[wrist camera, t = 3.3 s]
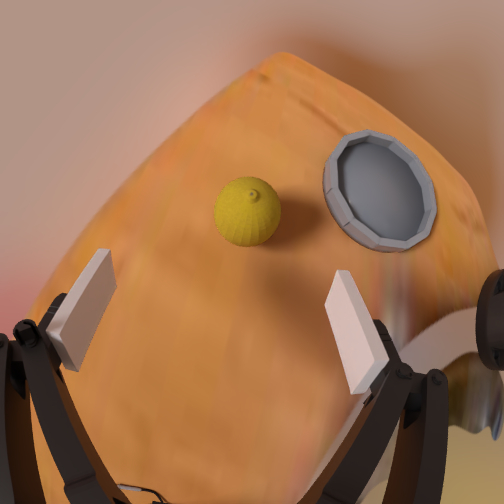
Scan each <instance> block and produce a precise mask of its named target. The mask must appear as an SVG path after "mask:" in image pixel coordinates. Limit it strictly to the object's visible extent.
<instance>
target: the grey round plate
mask: <svg viewBox="0 0 504 504" xmlns="http://www.w3.org/2000/svg"><path fill="white" fill-rule="evenodd" d="M416 156H417V155H415V154H414V153H413V152H412V151H411V150H409V149H408V148H407V147H406V146H405V145H403V144H402V143H401V142H400V141H398V140H397V139H396V138H395V137H392V136H389V135H386V134H382V133H379V132H375V131H372V130H363V131H359V132H355V133H352V134H348V135H344V136H343V138H342V139H341V141H340V142H339V144H338V145H337V147H336V148H335V149H334V151H333V152H332V154H331V155H330V157H329V158H328V160H327V161H326V163H325V168H324V172H323V192H324V196H325V200H326V203H327V206H328V208H329V210H330V212H331V214H332V216H333V218H334V219H335V221H336V222H337V224H338V225H339V226H340V228H341V229H342V230H343V231H344V232H345V233H346V234H347V235H348V236H349V237H350V238H352V239H353V240H354V241H355V242H357V243H358V244H360V245H362V246H364V247H366V248H368V249H371V250H374V251H378V252H387V253H389V252H401V251H404V250H406V249H409V248H410V247H412V246H413V245H415V244H416V243H418V242H420V241H421V240H423V239H424V238H426V237H427V236H428V235H429V233H430V230H431V227H432V224H433V222H434V219H435V215H436V212H437V207H436V200H435V194H434V188H433V183H431V182H432V180H431V179H430V177H429V175H428V173H427V172H426V170H425V168H424V167H423V165H422V163H421V162H420V160H419V158H418V157H416Z"/></svg>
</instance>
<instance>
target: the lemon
mask: <svg viewBox="0 0 504 504" xmlns="http://www.w3.org/2000/svg"><path fill="white" fill-rule="evenodd" d="M280 216H281V206H280V200H279V198H278V195H277V193H276V192H275V190H274V189H273V188H272V186H270V185H269V184H268V183H267V182H265V181H263V180H261V179H259V178H255V177H242V178H238V179H236V180H234V181H232V182H230V183H229V184H228V185H226V186H225V187H224V188H223V189H222V191H221V192H220V194H219V195H218V197H217V200H216V203H215V207H214V219H215V223H216V226H217V228H218V230H219V232H220V234H221V235H222V236H223V237H224V238H225V239H226V240H227V241H229V242H230V243H232V244H235V245H237V246H242V247H251V246H256V245H259V244H261V243H263V242H265V241H266V240H267V239H269V238H270V237H271V236H272V234H273V233H274V232H275V230H276V229H277V226H278V224H279V221H280Z"/></svg>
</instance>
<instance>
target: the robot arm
mask: <svg viewBox="0 0 504 504" xmlns="http://www.w3.org/2000/svg"><path fill="white" fill-rule="evenodd" d="M116 287H117V285H116V280H115V275H114V269H113V264H112V258H111V251H110V249H101V248H99V249H98V250H97V252H96V253H95V254H94V256H93V257H92V259H91V260H90V261H89V263H88V264H87V266H86V267H85V269H84V270H83V272H82V273H81V274H80V276H79V277H78V279H77V280H76V282H75V283H74V285H73V287H72V288H71V290H70V291H69V293H68V294H66V293H61V294H60V295H59V296H57V297H56V298H55V299H54V301H53V302H52V304H51V305H50V307H49V308H48V310H47V312H46V313H45V315H44V316H43V318H42V320H41V321H40V323H39V325H38V326H36V324H35V322H34V321H33V320H30V319H25V320H22V321H20V322H18V323H17V325H15V328H14V329H13V335H14V337H15V338H16V340H13V341H9V339H8V337H7V336H6V335H5V334H2V333H0V504H46V501H45V497H44V493H43V489H42V485H41V480H40V476H39V471H38V466H37V460H36V454H35V448H34V440H33V432H32V422H31V410H30V393H31V397H32V401H33V404H34V407H35V411H36V414H37V417H38V420H39V423H40V426H41V428H42V431H43V434H44V437H45V439H46V442H47V444H48V447H49V449H50V452H51V454H52V457H53V459H54V461H55V463H56V466H57V468H58V470H59V472H60V474H61V476H62V478H63V480H64V483H65V486H64V492H65V494H66V496H67V498H68V500H69V502H70V503H71V504H131V502H130V501H129V500H128V498H127V497H126V496H125V494H124V493H123V492H122V491H121V490H120V489H119V488H118V486H117V485H116V483H115V482H114V480H113V479H112V477H111V476H110V474H109V472H108V471H107V469H106V467H105V466H104V464H103V462H102V460H101V459H100V457H99V455H98V453H97V451H96V450H95V448H94V446H93V444H92V442H91V440H90V438H89V436H88V434H87V432H86V430H85V428H84V426H83V424H82V422H81V419H80V417H79V415H78V413H77V410H76V408H75V406H74V403H73V401H72V399H71V396H70V394H69V391H68V389H67V386H66V383H65V381H64V378H63V375H62V372H61V370H60V368H59V367H60V364H61V362H62V363H63V365H64V367H65V368H66V369H69V370H72V371H76V372H79V369H80V367H81V364H82V362H83V359H84V357H85V354H86V352H87V350H88V347H89V345H90V343H91V340H92V338H93V336H94V334H95V331H96V329H97V327H98V325H99V323H100V320H101V318H102V316H103V314H104V312H105V310H106V308H107V306H108V304H109V302H110V299H111V297H112V295H113V293H114V291H115V289H116ZM325 308H326V311H327V314H328V317H329V321H330V324H331V327H332V330H333V333H334V337H335V340H336V343H337V347H338V350H339V353H340V357H341V360H342V364H343V367H344V371H345V374H346V378H347V381H348V385H349V388H350V392H351V394H360V393H365V392H366V391H367V389H368V388H369V387H370V389H371V392H372V393H371V394H370V396H369V397H368V398H367V399H366V400H365V402H364V403H363V404H365V405H364V406H363V408H362V410H361V412H360V414H359V415H358V417H357V419H356V421H355V422H354V424H353V426H352V427H351V429H350V431H349V432H348V434H347V436H346V437H345V439H344V440H343V442H342V443H341V445H340V447H339V448H338V450H337V451H336V453H335V454H334V456H333V457H332V459H331V460H330V462H329V463H328V465H327V466H326V467H325V469H324V470H323V472H322V473H321V475H320V476H319V477H318V478H317V480H316V481H315V482H314V484H313V485H312V486H311V488H310V489H309V490H308V492H307V493H306V494H305V495H304V497H303V498H302V499H301V500H300V501H299V502H298V503H297V504H355V503H356V501H357V499H358V498H359V496H360V494H361V493H362V491H363V489H364V488H365V486H366V484H367V483H368V481H369V479H370V477H371V476H372V474H373V472H374V470H375V468H376V466H377V464H378V463H379V461H380V459H381V457H382V455H383V453H384V451H385V449H386V447H387V445H388V442H389V440H390V438H391V436H392V434H393V432H394V429H395V427H396V425H397V422H398V420H399V418H400V422H399V429H398V435H397V441H396V447H395V452H394V457H393V462H392V466H391V471H390V475H389V479H388V484H387V487H386V491H385V495H384V499H383V502H382V504H440V500H441V494H442V488H443V481H444V474H445V465H446V455H447V441H448V381H447V377H446V375H445V374H444V373H443V372H442V371H440V370H438V369H432V370H430V371H429V372H428V373H427V374H421V373H415V372H413V370H412V368H411V367H410V366H409V365H407V364H406V363H403V362H401V359H400V358H399V355H398V353H397V350H396V348H395V346H394V344H393V341H391V340H392V339H391V337H390V335H389V333H388V331H387V329H386V326H385V325H384V324H383V323H382V322H381V321H380V320H372V318H371V316H370V314H369V312H368V310H367V307H366V305H365V303H364V301H363V299H362V297H361V295H360V293H359V290H358V288H357V286H356V284H355V282H354V280H353V278H352V276H351V274H350V272H349V271H347V270H337V271H336V274H335V277H334V280H333V283H332V286H331V289H330V291H329V294H328V297H327V300H326V302H325ZM476 343H477V348H478V352H479V355H480V358H481V360H482V362H483V363H484V365H485V366H486V367H487V368H489V369H491V370H500V371H504V269H502V270H498V271H495V272H493V273H492V274H491V275H490V276H489V277H488V278H487V280H486V281H485V283H484V285H483V288H482V290H481V293H480V297H479V301H478V306H477V313H476ZM152 504H168V503H162V502H156V501H152Z"/></svg>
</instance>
